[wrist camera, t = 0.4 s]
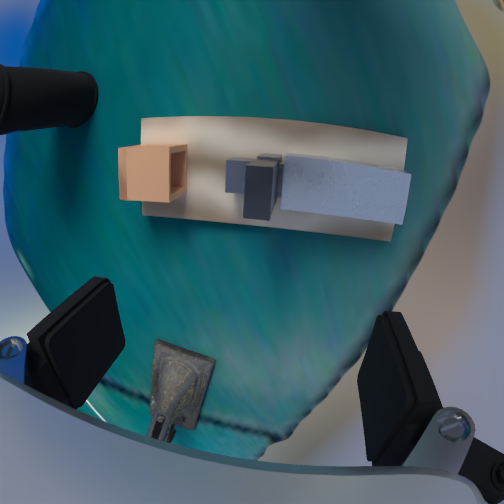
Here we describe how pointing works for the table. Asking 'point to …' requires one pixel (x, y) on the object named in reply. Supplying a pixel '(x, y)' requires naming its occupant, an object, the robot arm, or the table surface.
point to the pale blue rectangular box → (344, 188)
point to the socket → (152, 172)
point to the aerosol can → (44, 98)
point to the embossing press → (176, 389)
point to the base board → (250, 146)
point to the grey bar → (256, 183)
